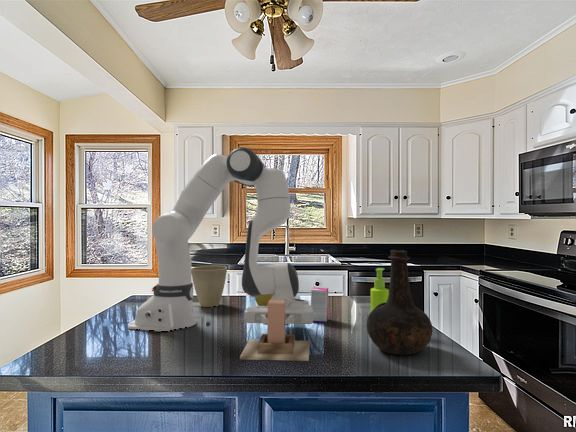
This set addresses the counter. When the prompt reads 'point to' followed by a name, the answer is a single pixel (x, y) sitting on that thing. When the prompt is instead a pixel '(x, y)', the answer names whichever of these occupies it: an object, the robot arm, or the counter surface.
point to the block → (276, 321)
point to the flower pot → (263, 299)
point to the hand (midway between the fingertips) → (276, 322)
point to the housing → (276, 349)
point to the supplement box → (319, 304)
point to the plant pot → (209, 284)
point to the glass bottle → (399, 315)
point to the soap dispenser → (378, 290)
